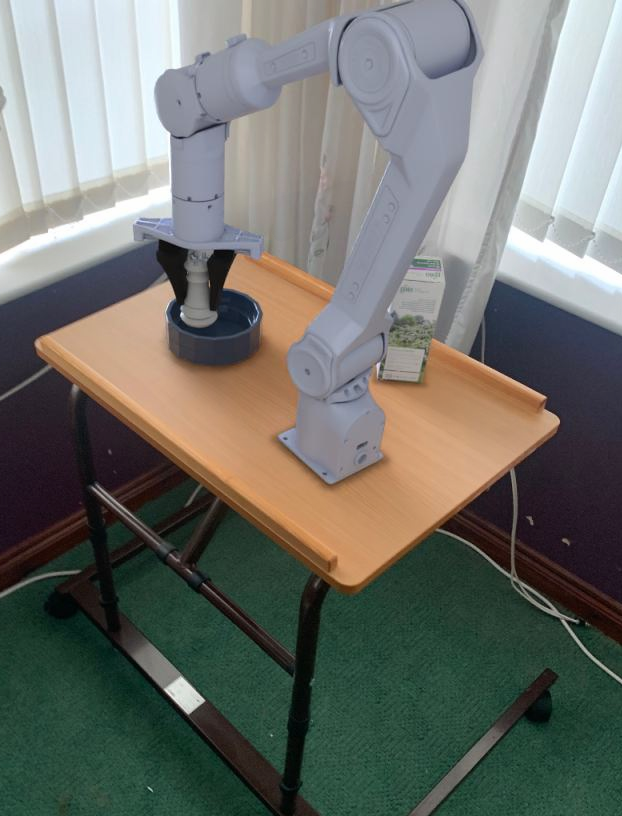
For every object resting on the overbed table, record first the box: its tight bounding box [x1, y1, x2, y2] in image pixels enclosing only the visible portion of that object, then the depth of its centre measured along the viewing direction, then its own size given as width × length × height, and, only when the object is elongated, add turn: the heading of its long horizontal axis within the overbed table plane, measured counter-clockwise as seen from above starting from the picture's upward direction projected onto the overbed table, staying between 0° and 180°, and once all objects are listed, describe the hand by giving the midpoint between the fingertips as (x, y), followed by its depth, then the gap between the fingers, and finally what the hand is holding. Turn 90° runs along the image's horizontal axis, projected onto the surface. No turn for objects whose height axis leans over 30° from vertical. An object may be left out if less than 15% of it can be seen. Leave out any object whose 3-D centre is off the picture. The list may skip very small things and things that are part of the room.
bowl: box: [164, 286, 264, 367], centre depth 102 cm, size 12×12×4 cm
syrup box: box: [376, 255, 447, 384], centre depth 95 cm, size 6×6×14 cm
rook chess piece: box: [180, 251, 218, 328], centre depth 92 cm, size 4×4×8 cm
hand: (199, 304), depth 93 cm, fingers closed on rook chess piece, 3 cm apart
